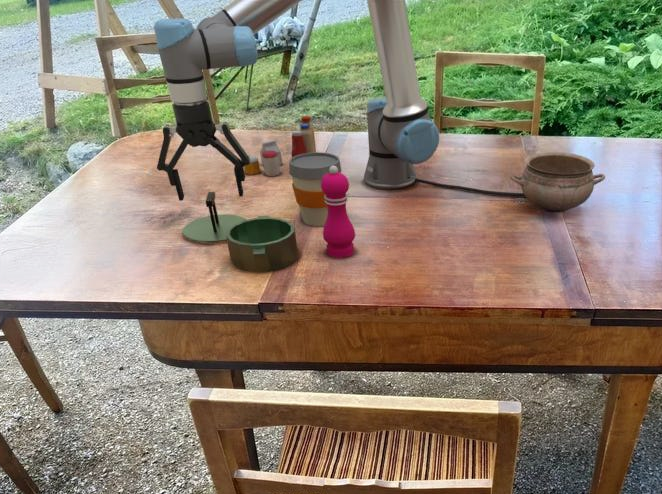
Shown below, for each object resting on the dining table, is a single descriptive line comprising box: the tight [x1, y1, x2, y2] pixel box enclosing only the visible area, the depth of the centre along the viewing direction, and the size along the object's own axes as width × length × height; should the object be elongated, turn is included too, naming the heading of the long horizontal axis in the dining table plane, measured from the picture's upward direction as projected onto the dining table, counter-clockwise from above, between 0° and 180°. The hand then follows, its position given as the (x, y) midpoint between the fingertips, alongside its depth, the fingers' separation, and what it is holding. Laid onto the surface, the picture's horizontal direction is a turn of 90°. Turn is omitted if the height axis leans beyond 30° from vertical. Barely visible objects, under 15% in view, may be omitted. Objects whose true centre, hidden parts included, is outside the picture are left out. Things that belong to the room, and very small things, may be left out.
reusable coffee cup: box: [288, 151, 342, 227], centre depth 150 cm, size 13×13×15 cm
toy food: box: [243, 115, 317, 177], centre depth 184 cm, size 27×13×12 cm, turn 135°
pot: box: [226, 215, 299, 273], centre depth 135 cm, size 15×20×6 cm
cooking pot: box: [509, 151, 606, 214], centre depth 158 cm, size 25×19×12 cm
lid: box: [182, 191, 248, 244], centre depth 145 cm, size 16×16×9 cm
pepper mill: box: [321, 166, 356, 259], centre depth 133 cm, size 7×7×20 cm
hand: (211, 196), depth 142 cm, fingers open, 13 cm apart
